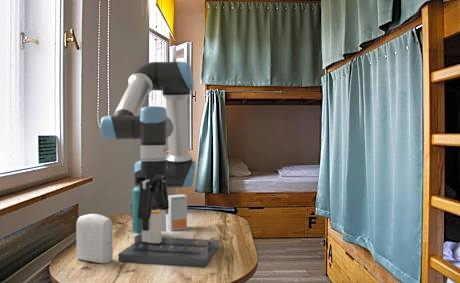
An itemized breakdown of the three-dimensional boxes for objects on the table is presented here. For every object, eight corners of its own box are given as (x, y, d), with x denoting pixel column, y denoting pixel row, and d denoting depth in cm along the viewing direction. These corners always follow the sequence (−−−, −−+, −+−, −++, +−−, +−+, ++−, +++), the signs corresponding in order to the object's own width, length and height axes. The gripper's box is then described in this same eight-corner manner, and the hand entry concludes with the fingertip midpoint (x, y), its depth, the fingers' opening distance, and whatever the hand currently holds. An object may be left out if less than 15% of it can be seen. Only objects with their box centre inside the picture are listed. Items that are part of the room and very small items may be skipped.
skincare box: (171, 231, 119) (170, 197, 119) (168, 228, 123) (167, 195, 123) (187, 229, 121) (187, 195, 121) (184, 226, 125) (184, 194, 125)
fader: (150, 240, 101) (150, 210, 100) (161, 241, 100) (161, 210, 100) (147, 242, 98) (147, 211, 98) (159, 243, 98) (158, 212, 98)
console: (144, 242, 106) (144, 229, 106) (219, 246, 102) (219, 233, 102) (118, 261, 91) (118, 246, 90) (205, 267, 86) (205, 251, 86)
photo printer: (115, 259, 92) (114, 214, 92) (104, 265, 88) (103, 217, 88) (86, 254, 96) (85, 211, 95) (73, 260, 92) (73, 214, 91)
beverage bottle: (147, 239, 110) (146, 177, 110) (128, 237, 111) (127, 177, 111) (155, 233, 116) (155, 175, 116) (137, 232, 118) (137, 174, 117)
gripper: (150, 163, 87) (150, 249, 87) (178, 157, 109) (179, 226, 109) (123, 162, 88) (124, 247, 89) (157, 157, 110) (157, 225, 111)
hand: (154, 236), depth 99 cm, fingers open, 10 cm apart
